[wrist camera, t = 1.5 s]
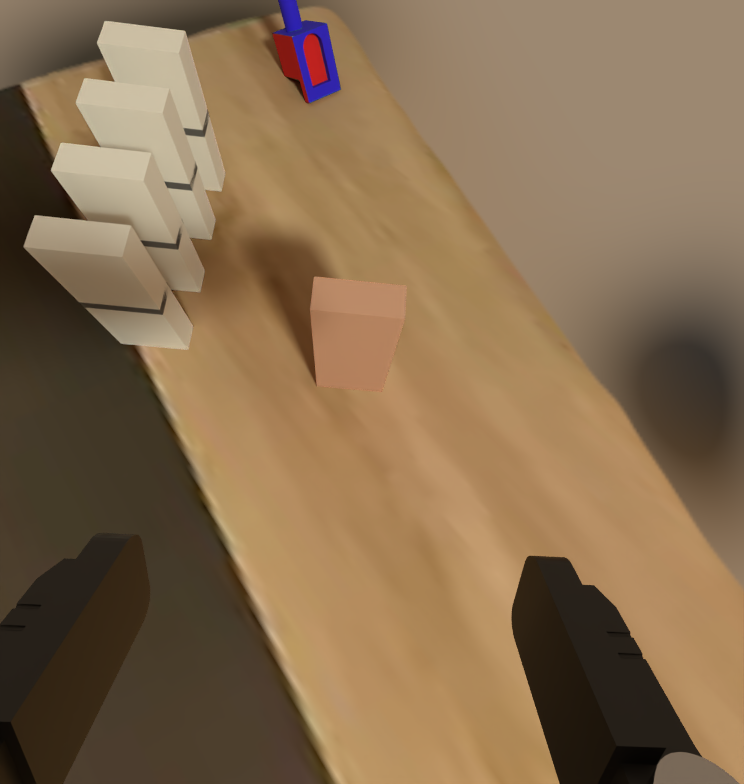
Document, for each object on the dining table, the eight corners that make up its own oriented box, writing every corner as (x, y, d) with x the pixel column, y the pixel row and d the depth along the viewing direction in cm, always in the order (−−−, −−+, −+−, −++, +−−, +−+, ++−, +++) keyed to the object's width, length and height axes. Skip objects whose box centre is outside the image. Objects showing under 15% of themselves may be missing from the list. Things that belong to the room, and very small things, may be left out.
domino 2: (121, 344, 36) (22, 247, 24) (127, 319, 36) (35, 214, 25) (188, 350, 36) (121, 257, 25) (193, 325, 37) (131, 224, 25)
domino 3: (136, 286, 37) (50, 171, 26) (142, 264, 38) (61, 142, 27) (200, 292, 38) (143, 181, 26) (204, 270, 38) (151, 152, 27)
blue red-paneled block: (320, 83, 48) (296, -19, 42) (341, 89, 45) (318, -18, 39) (290, 96, 47) (261, -6, 41) (309, 103, 44) (281, -5, 38)
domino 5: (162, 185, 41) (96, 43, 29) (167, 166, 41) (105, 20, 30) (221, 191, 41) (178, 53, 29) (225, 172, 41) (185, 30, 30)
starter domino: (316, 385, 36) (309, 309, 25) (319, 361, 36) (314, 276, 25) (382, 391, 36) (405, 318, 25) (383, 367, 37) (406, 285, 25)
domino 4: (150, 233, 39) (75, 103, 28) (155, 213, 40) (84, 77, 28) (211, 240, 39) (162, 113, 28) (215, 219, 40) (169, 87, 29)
